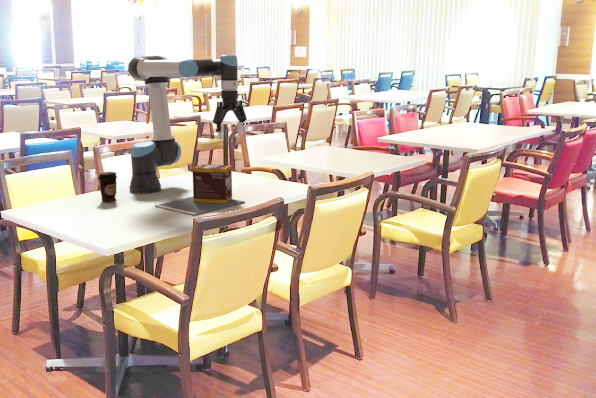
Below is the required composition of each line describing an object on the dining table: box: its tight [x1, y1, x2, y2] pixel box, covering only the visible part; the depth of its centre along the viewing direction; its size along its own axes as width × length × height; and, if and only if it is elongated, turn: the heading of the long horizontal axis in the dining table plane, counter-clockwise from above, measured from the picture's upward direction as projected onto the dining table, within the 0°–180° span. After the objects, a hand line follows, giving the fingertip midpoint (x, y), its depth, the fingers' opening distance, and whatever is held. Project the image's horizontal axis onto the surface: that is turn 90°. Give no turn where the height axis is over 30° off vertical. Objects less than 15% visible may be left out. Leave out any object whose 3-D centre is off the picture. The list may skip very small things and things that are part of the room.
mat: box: [154, 196, 246, 217], centre depth 288 cm, size 26×30×1 cm
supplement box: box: [192, 164, 233, 203], centre depth 292 cm, size 10×15×16 cm
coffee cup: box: [97, 171, 118, 203], centre depth 294 cm, size 9×8×13 cm
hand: (230, 137), depth 296 cm, fingers open, 12 cm apart
